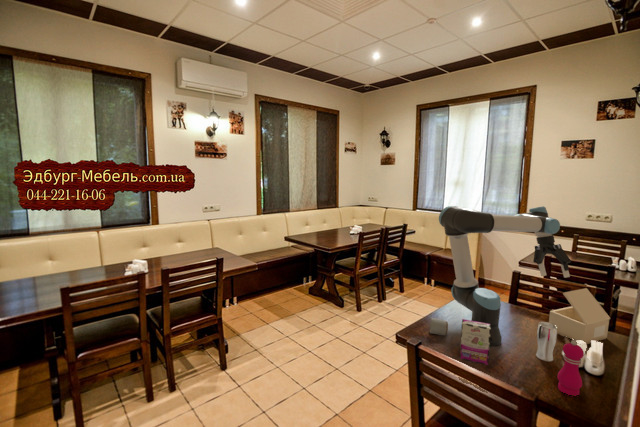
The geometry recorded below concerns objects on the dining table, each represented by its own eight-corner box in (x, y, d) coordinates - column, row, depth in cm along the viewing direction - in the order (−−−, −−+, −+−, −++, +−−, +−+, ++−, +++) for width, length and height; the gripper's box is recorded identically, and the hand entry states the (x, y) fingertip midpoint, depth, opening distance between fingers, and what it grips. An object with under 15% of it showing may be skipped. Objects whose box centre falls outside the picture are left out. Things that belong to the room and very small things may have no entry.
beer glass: (555, 364, 132) (558, 330, 130) (535, 358, 135) (538, 326, 133) (553, 356, 137) (557, 324, 135) (534, 351, 141) (537, 320, 139)
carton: (583, 345, 146) (586, 325, 145) (548, 329, 161) (550, 311, 160) (607, 338, 152) (609, 319, 151) (570, 323, 167) (572, 305, 166)
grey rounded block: (447, 338, 151) (448, 323, 150) (429, 336, 154) (430, 321, 153) (446, 328, 161) (446, 314, 160) (429, 326, 164) (430, 312, 163)
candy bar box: (487, 359, 135) (490, 323, 133) (488, 365, 130) (491, 328, 128) (459, 352, 140) (462, 318, 138) (459, 358, 135) (461, 323, 133)
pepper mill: (560, 394, 113) (566, 343, 111) (553, 382, 120) (558, 333, 117) (584, 400, 111) (591, 347, 108) (576, 387, 118) (582, 337, 115)
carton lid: (586, 325, 145) (587, 324, 144) (562, 293, 154) (563, 292, 153) (609, 319, 151) (610, 318, 150) (585, 288, 160) (586, 288, 159)
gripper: (572, 232, 151) (584, 276, 149) (531, 236, 176) (541, 274, 173) (559, 235, 150) (571, 279, 148) (520, 238, 175) (529, 276, 172)
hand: (555, 276), depth 160 cm, fingers open, 13 cm apart
